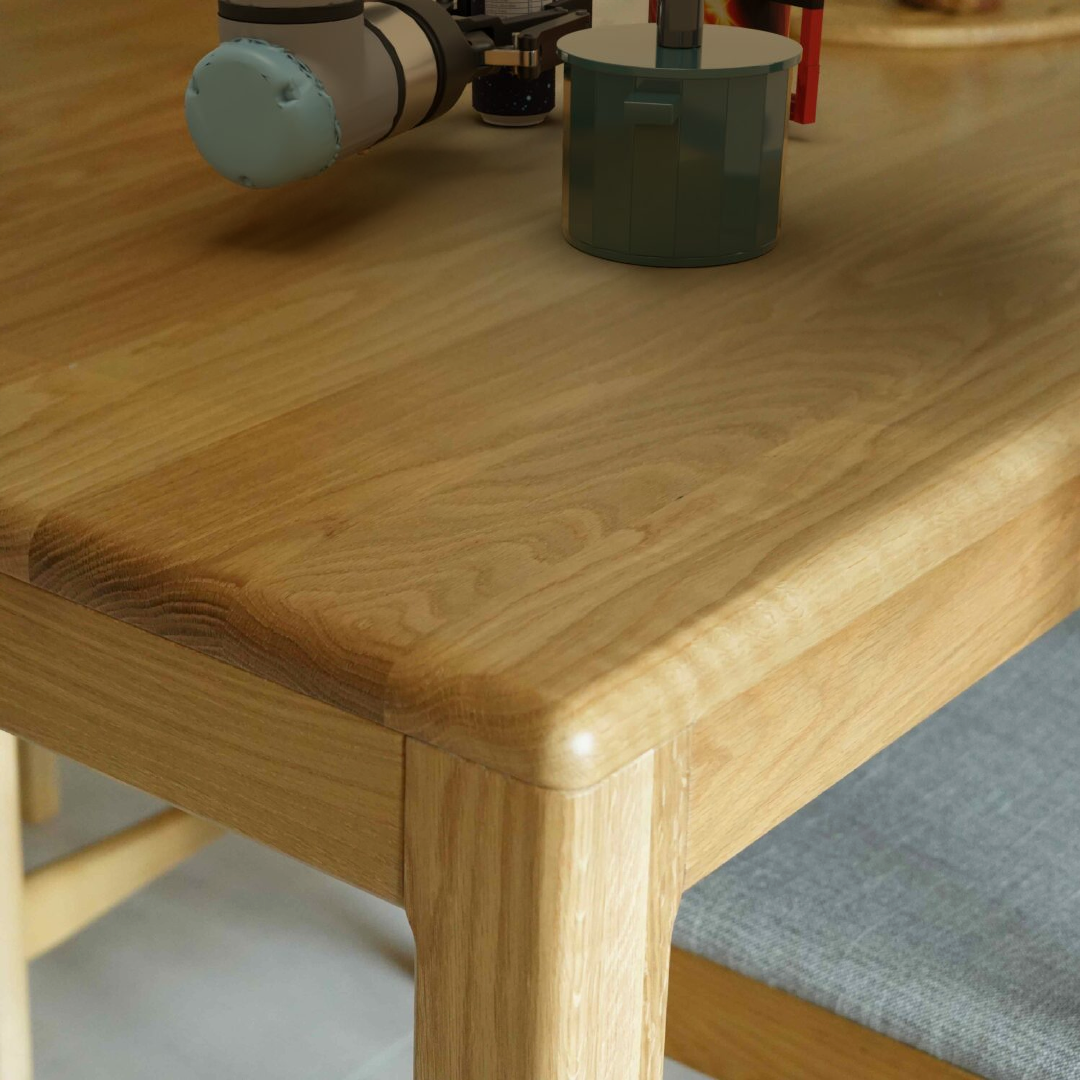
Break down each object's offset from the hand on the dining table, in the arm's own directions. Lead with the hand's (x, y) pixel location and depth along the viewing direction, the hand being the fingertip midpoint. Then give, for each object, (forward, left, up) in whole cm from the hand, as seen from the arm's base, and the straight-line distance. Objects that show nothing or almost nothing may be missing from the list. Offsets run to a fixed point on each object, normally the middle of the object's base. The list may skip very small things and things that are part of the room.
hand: (544, 8), depth 114 cm
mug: (-14, 0, -7) cm, 16 cm away
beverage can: (+1, +5, -7) cm, 9 cm away
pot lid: (-14, +29, +3) cm, 32 cm away
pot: (-14, +29, -7) cm, 33 cm away
